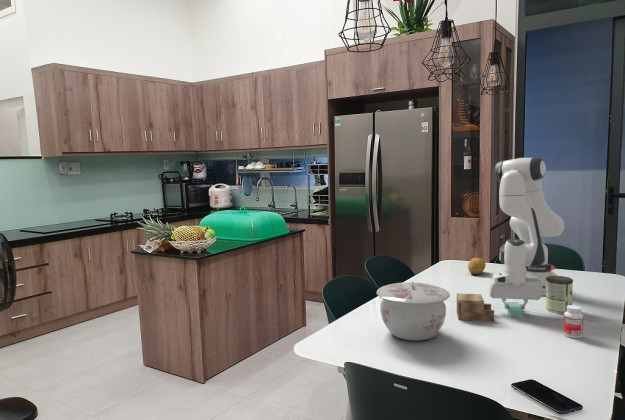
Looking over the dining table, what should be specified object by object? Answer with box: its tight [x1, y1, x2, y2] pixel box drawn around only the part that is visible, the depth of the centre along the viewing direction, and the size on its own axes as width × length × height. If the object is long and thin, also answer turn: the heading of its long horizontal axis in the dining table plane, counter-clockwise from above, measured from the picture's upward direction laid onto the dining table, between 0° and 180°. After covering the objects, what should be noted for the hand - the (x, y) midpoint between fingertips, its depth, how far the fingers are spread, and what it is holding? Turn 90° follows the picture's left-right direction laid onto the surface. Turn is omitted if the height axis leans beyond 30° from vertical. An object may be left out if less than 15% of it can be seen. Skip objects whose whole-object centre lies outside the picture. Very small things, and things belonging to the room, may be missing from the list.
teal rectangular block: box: [505, 301, 525, 319], centre depth 195 cm, size 12×5×3 cm, turn 166°
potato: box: [467, 257, 486, 275], centre depth 263 cm, size 10×13×9 cm
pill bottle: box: [563, 304, 584, 339], centre depth 168 cm, size 6×6×11 cm
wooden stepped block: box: [456, 292, 495, 322], centre depth 191 cm, size 14×10×8 cm
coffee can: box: [545, 275, 574, 315], centre depth 196 cm, size 10×10×14 cm
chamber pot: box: [376, 281, 451, 342], centre depth 173 cm, size 28×28×21 cm
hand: (514, 308), depth 195 cm, fingers closed on teal rectangular block, 5 cm apart
